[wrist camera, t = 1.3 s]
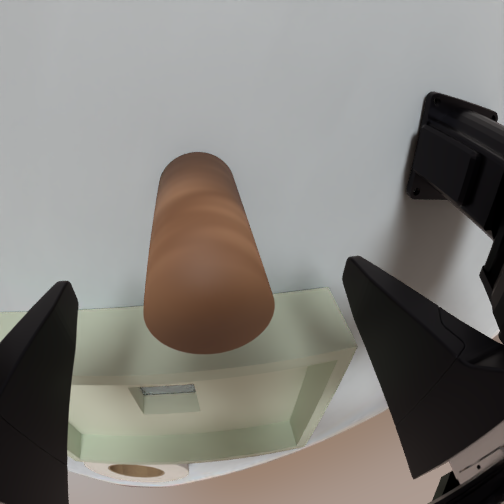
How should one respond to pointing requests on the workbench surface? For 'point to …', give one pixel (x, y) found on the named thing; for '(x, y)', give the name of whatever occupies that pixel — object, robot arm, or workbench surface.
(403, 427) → the robot arm
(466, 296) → the workbench surface
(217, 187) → the peg
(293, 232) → the workbench surface
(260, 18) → the workbench surface
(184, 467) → the roll of tape
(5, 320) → the box
